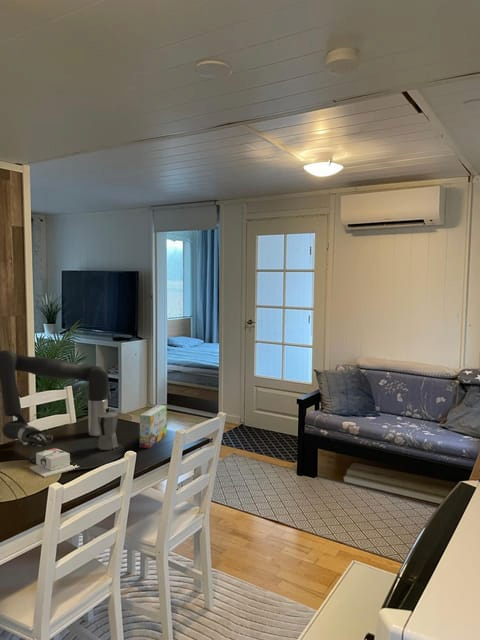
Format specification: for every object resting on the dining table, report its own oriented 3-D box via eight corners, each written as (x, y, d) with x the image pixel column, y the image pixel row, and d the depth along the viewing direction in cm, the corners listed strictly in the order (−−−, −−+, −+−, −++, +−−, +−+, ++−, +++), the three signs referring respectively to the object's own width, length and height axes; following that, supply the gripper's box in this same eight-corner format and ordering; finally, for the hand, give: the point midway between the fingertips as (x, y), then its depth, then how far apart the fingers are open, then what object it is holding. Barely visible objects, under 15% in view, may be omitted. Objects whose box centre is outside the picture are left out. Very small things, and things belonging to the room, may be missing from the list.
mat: (63, 459, 195) (63, 458, 195) (79, 467, 186) (79, 466, 186) (29, 468, 185) (29, 466, 185) (44, 477, 176) (44, 476, 176)
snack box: (150, 448, 209) (150, 415, 209) (139, 447, 211) (138, 414, 210) (167, 435, 230) (167, 404, 229) (156, 434, 231) (156, 404, 231)
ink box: (55, 447, 194) (70, 453, 187) (55, 458, 195) (70, 465, 187) (35, 452, 188) (50, 458, 180) (35, 464, 188) (50, 471, 180)
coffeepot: (102, 443, 217) (101, 404, 216) (122, 443, 217) (121, 404, 216) (91, 454, 202) (90, 413, 201) (112, 454, 202) (112, 413, 201)
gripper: (13, 430, 197) (30, 439, 185) (45, 424, 206) (62, 432, 194) (14, 447, 197) (30, 457, 185) (45, 440, 207) (63, 449, 195)
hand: (47, 444), depth 190 cm, fingers closed
